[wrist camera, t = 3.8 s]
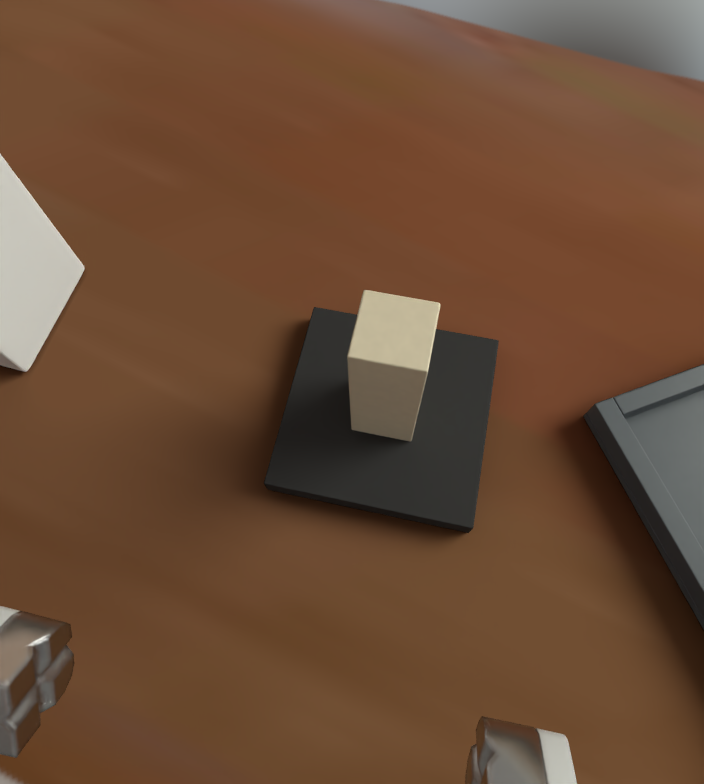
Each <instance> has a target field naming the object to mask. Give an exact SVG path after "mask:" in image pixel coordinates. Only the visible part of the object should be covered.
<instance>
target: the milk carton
mask: <svg viewBox="0 0 704 784" xmlns="http://www.w3.org/2000/svg"><path fill="white" fill-rule="evenodd" d="M83 272H84V266H83V264H82V263H81V262H80V260H79V259H78V258H77V256H76V255H75V254H74V252H73V251H72V250H71V248H70V247H69V246H68V244H67V243H66V241H65V240H64V239H63V237H62V236H61V235H60V233H59V232H58V231H57V229H56V228H55V227H54V225H53V224H52V223H51V221H50V220H49V219H48V217H47V216H46V215H45V213H44V212H43V211H42V209H41V208H40V207H39V205H38V204H37V203H36V201H35V200H34V198H33V197H32V196H31V194H30V193H29V192H28V190H27V189H26V188H25V186H24V185H23V184H22V182H21V181H20V180H19V178H18V177H17V176H16V174H15V173H14V172H13V170H12V169H11V168H10V166H9V165H8V164H7V162H6V161H5V160H4V158H3V157H2V156H1V154H0V365H1V366H5V367H8V368H12V369H16V370H19V371H23V372H27V371H28V370H29V368H30V367H31V365H32V363H33V362H34V360H35V358H36V356H37V354H38V353H39V351H40V349H41V347H42V346H43V344H44V342H45V340H46V338H47V337H48V335H49V333H50V331H51V329H52V328H53V326H54V324H55V322H56V320H57V319H58V317H59V315H60V313H61V312H62V310H63V308H64V306H65V304H66V303H67V301H68V299H69V297H70V295H71V294H72V292H73V290H74V288H75V286H76V285H77V283H78V281H79V279H80V277H81V276H82V274H83Z"/></svg>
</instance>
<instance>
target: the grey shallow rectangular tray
mask: <svg viewBox="0 0 704 784" xmlns="http://www.w3.org/2000/svg"><path fill="white" fill-rule="evenodd" d="M584 418H585V420H586V422H587V424H588V426H589V427H590V429H591V431H592V433H593V434H594V436H595V438H596V440H597V441H598V443H599V445H600V447H601V449H602V450H603V452H604V454H605V456H606V457H607V459H608V461H609V463H610V465H611V466H612V468H613V470H614V472H615V473H616V475H617V477H618V479H619V480H620V482H621V484H622V486H623V488H624V489H625V491H626V493H627V495H628V496H629V498H630V500H631V502H632V504H633V505H634V507H635V509H636V511H637V512H638V514H639V516H640V518H641V519H642V521H643V523H644V525H645V527H646V528H647V530H648V532H649V534H650V535H651V537H652V539H653V541H654V543H655V544H656V546H657V548H658V550H659V551H660V553H661V555H662V557H663V558H664V560H665V562H666V564H667V566H668V567H669V569H670V571H671V573H672V574H673V576H674V578H675V580H676V582H677V583H678V585H679V587H680V589H681V590H682V592H683V594H684V596H685V597H686V599H687V601H688V603H689V605H690V606H691V608H692V610H693V612H694V613H695V615H696V617H697V619H698V621H699V622H700V624H701V626H702V628H703V629H704V364H703V365H700V366H697V367H694V368H692V369H689V370H686V371H684V372H681V373H678V374H675V375H673V376H670V377H667V378H664V379H662V380H659V381H656V382H653V383H651V384H648V385H645V386H643V387H640V388H637V389H634V390H632V391H629V392H626V393H623V394H621V395H618V396H615V397H613V398H609V399H607V400H604V401H601V402H598V403H596V404H594V405H593V407H592V408H591V409H590V410H589V411H588V412H587V413H586V414H585V415H584Z"/></svg>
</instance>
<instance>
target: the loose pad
mask: <svg viewBox="0 0 704 784" xmlns="http://www.w3.org/2000/svg"><path fill="white" fill-rule="evenodd" d="M439 310H440V303H437V302H431V301H425V300H420V299H414V298H408V297H403V296H397V295H391V294H386V293H380V292H374V291H369V290H364V291H363V295H362V299H361V303H360V307H359V311H358V315H355V314H350V313H344V312H339V311H333V310H327V309H322V308H316V307H314V309H313V312H312V316H311V319H310V323H309V326H308V330H307V333H306V337H305V340H304V344H303V347H302V351H301V355H300V358H299V362H298V365H297V369H296V372H295V376H294V379H293V383H292V386H291V390H290V393H289V397H288V400H287V404H286V407H285V411H284V414H283V418H282V421H281V425H280V428H279V432H278V435H277V439H276V442H275V446H274V449H273V453H272V456H271V460H270V463H269V467H268V470H267V474H266V477H265V481H264V484H265V486H266V488H267V489H268V490H272V491H277V492H281V493H286V494H291V495H295V496H300V497H305V498H309V499H314V500H318V501H323V502H328V503H332V504H337V505H342V506H346V507H351V508H356V509H360V510H365V511H369V512H374V513H379V514H383V515H388V516H393V517H397V518H402V519H407V520H411V521H416V522H420V523H425V524H430V525H434V526H439V527H444V528H448V529H453V530H458V531H462V532H467V533H469V532H470V531H471V530H472V529H473V525H474V518H475V511H476V503H477V496H478V489H479V481H480V474H481V467H482V459H483V452H484V445H485V437H486V430H487V423H488V415H489V408H490V401H491V393H492V386H493V379H494V371H495V364H496V357H497V349H498V342H499V341H498V340H493V339H488V338H482V337H477V336H471V335H466V334H460V333H455V332H449V331H444V330H438V329H436V326H437V321H438V315H439Z"/></svg>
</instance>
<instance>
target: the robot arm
mask: <svg viewBox="0 0 704 784" xmlns="http://www.w3.org/2000/svg"><path fill="white" fill-rule="evenodd" d="M71 638H72V632H71V625H70V624H68V623H65V622H62V621H58V620H54V619H50V618H46V617H43V616H39V615H35V614H31V613H27V612H23V611H19V610H15V609H10V608H6V607H2V606H0V754H2V755H7V756H11V757H16V758H17V756H18V755H19V753H20V752H21V751H22V749H23V748H24V747H25V745H26V744H27V743H28V741H29V740H30V739H31V737H32V736H33V735H34V733H35V732H36V731H37V729H38V728H39V726H40V713H41V712H43V711H45V710H47V709H49V708H50V707H52V706H54V705H56V703H57V702H58V700H59V699H60V698H61V696H62V695H63V693H64V692H65V690H66V688H67V685H68V683H69V681H70V679H71V676H72V672H73V667H74V654H73V653H72V651H71V650H70V649H69V648H68V646H67V645H66V644H67V643H68V642H69V640H70V639H71ZM465 784H577V781H576V776H575V772H574V767H573V762H572V757H571V753H570V748H569V743H568V740H567V738H566V737H565V735H564V734H559V733H555V732H550V731H546V730H542V729H535V728H534V727H530V726H526V725H521V724H516V723H512V722H507V721H502V720H497V719H493V718H488V717H483V716H482V717H481V718H480V720H479V722H478V725H477V728H476V744H475V745H473V746H471V749H470V753H469V757H468V761H467V768H466V776H465Z"/></svg>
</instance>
